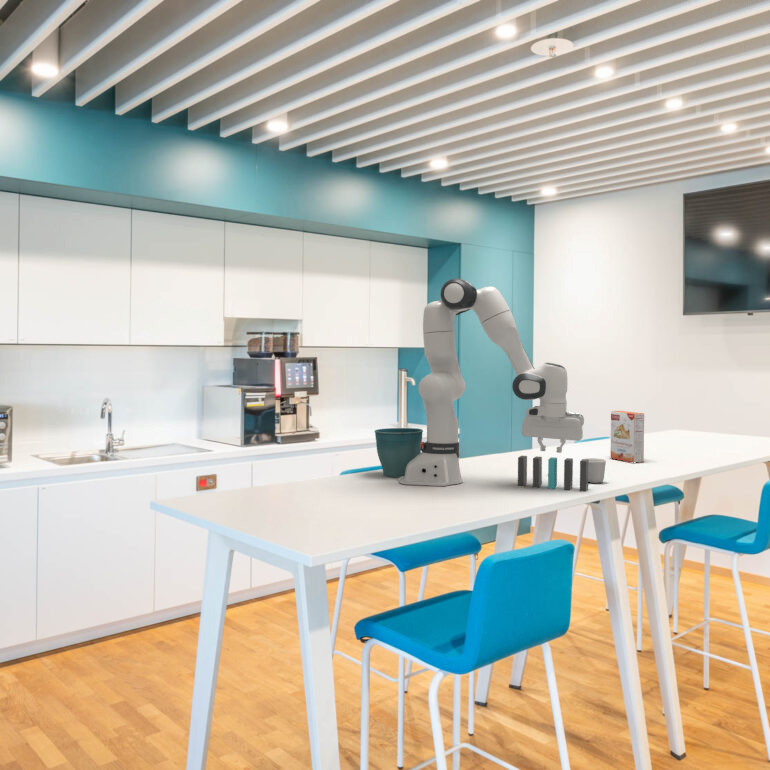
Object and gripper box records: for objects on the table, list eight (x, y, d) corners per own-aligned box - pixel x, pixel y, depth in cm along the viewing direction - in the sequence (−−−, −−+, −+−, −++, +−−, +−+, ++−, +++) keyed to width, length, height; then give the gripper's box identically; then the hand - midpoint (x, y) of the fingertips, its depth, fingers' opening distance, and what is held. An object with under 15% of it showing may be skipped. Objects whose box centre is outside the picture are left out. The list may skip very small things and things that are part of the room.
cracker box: (609, 459, 319) (610, 410, 318) (620, 458, 322) (621, 410, 321) (633, 463, 306) (633, 413, 305) (644, 462, 309) (644, 412, 308)
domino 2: (541, 485, 256) (541, 456, 255) (538, 487, 251) (538, 458, 251) (535, 485, 256) (536, 456, 256) (532, 487, 252) (532, 458, 251)
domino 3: (572, 487, 252) (572, 458, 251) (569, 490, 247) (570, 460, 247) (566, 487, 252) (566, 458, 252) (563, 489, 248) (564, 460, 247)
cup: (572, 479, 267) (573, 457, 267) (591, 478, 270) (591, 456, 270) (591, 484, 257) (591, 461, 257) (610, 483, 260) (610, 460, 260)
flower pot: (365, 477, 273) (365, 431, 272) (388, 470, 289) (388, 426, 288) (409, 481, 264) (410, 433, 264) (430, 473, 280) (430, 429, 280)
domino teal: (556, 486, 254) (557, 457, 253) (554, 489, 249) (554, 459, 249) (550, 486, 254) (551, 457, 254) (548, 488, 250) (548, 459, 249)
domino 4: (588, 488, 250) (588, 459, 249) (585, 491, 245) (586, 461, 244) (582, 488, 250) (582, 459, 250) (579, 491, 246) (580, 461, 245)
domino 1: (526, 484, 258) (527, 455, 257) (523, 486, 253) (523, 457, 253) (521, 484, 259) (521, 455, 258) (517, 486, 254) (518, 457, 253)
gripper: (585, 412, 249) (583, 453, 250) (525, 408, 257) (523, 448, 258) (582, 413, 244) (580, 455, 244) (521, 409, 252) (519, 450, 252)
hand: (550, 451), depth 251 cm, fingers open, 4 cm apart
